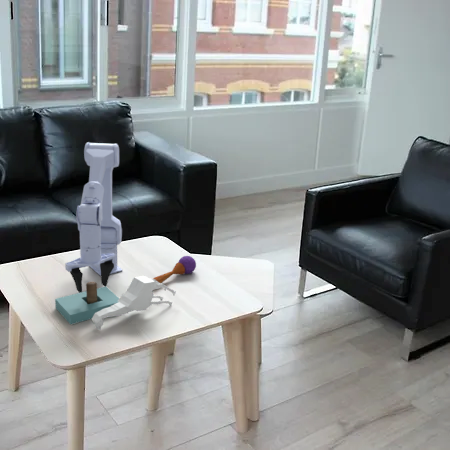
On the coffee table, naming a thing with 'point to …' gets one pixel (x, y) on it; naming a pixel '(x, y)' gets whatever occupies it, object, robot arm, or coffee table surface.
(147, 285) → the horse figurine
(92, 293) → the peg
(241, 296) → the coffee table surface
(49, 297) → the coffee table surface
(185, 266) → the purple ball maraca
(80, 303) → the socket board
